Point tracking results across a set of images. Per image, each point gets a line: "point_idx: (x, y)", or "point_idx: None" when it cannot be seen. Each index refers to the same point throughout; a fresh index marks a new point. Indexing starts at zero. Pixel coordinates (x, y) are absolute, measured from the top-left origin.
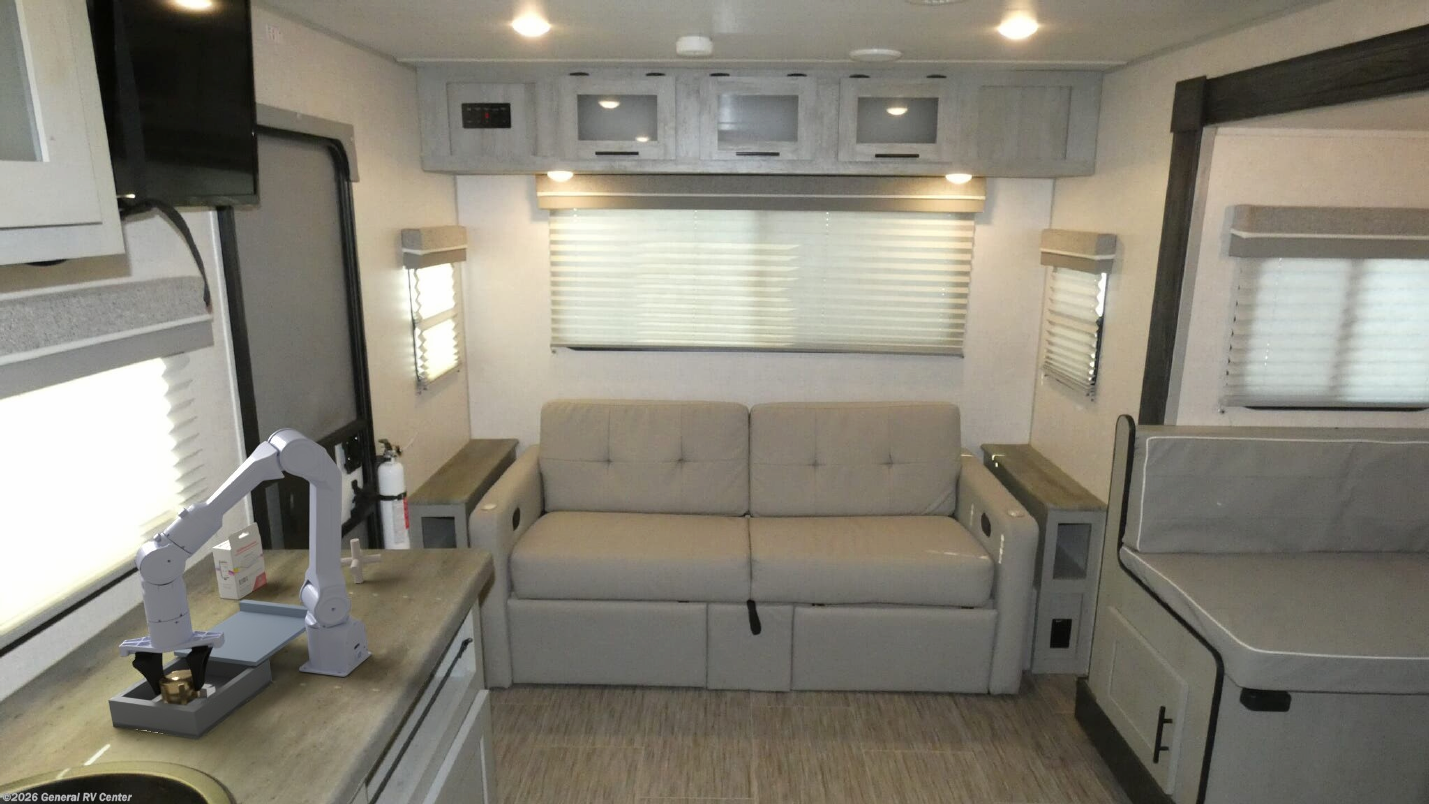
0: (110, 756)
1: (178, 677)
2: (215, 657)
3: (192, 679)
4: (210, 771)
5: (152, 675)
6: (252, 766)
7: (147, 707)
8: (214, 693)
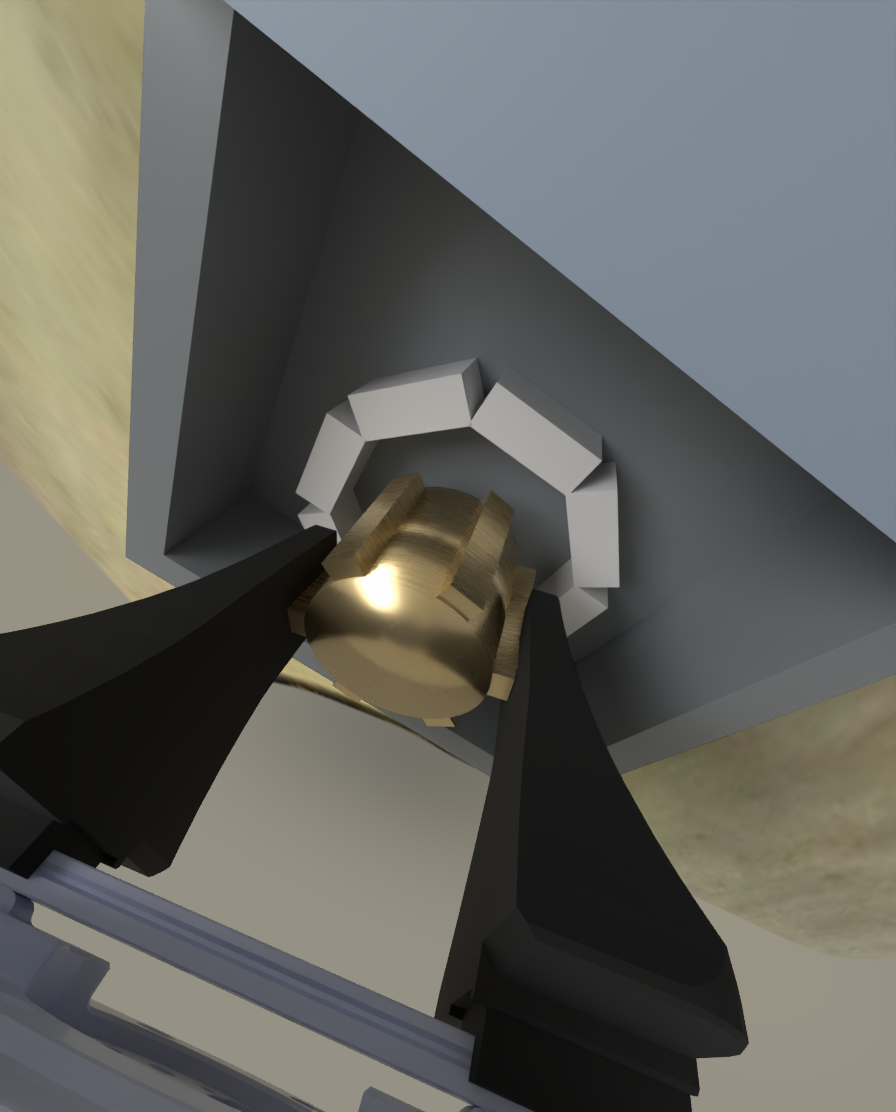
0: None
1: (399, 663)
2: (676, 359)
3: (497, 737)
4: None
5: (246, 720)
6: (694, 843)
7: None
8: (622, 749)
